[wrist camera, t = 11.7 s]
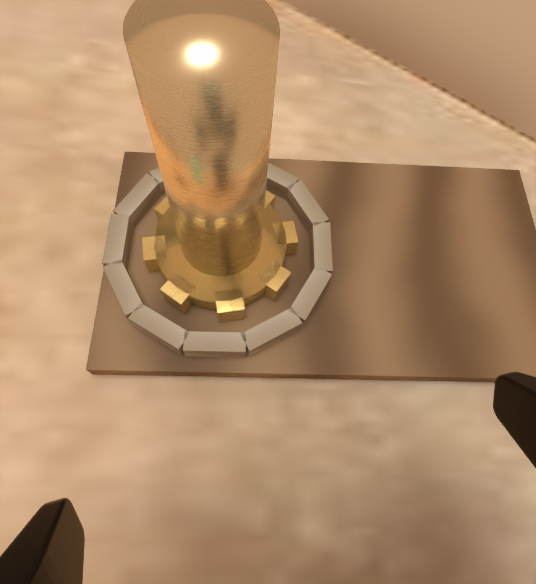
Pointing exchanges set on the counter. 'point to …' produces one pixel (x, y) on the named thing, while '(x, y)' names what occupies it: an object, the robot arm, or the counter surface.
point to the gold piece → (211, 149)
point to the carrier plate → (341, 280)
